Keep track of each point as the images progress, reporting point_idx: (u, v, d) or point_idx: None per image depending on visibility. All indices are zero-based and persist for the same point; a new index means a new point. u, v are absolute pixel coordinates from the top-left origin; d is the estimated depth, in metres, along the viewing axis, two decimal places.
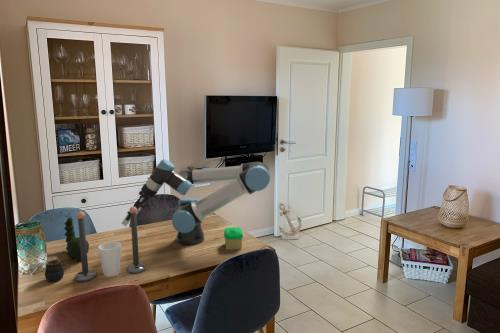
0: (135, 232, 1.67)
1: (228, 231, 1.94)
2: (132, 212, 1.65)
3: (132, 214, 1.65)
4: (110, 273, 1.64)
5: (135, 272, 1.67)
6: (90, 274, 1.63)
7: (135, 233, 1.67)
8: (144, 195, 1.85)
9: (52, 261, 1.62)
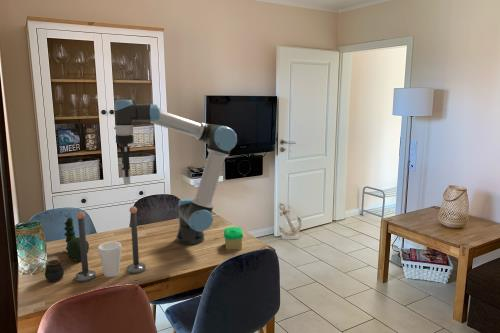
0: (135, 232, 1.67)
1: (228, 231, 1.94)
2: (132, 212, 1.65)
3: (132, 214, 1.65)
4: (110, 273, 1.64)
5: (135, 272, 1.67)
6: (90, 274, 1.63)
7: (135, 233, 1.67)
8: (124, 144, 1.67)
9: (52, 261, 1.62)
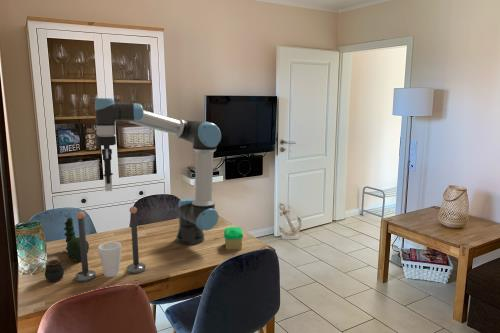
0: (135, 232, 1.67)
1: (228, 231, 1.94)
2: (132, 212, 1.65)
3: (132, 214, 1.65)
4: (110, 273, 1.64)
5: (135, 272, 1.67)
6: (90, 274, 1.63)
7: (135, 233, 1.67)
8: (106, 146, 1.56)
9: (52, 261, 1.62)
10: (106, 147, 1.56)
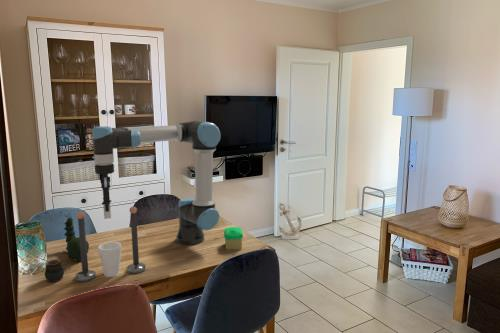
0: (135, 232, 1.67)
1: (228, 231, 1.94)
2: (132, 212, 1.65)
3: (132, 214, 1.65)
4: (110, 273, 1.64)
5: (135, 272, 1.67)
6: (90, 274, 1.63)
7: (135, 233, 1.67)
8: (104, 175, 1.56)
9: (52, 261, 1.62)
10: (104, 176, 1.56)
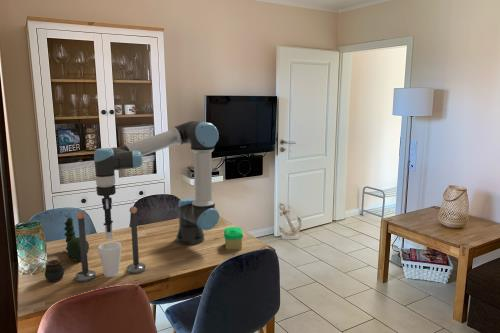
0: (135, 232, 1.67)
1: (228, 231, 1.94)
2: (132, 212, 1.65)
3: (132, 214, 1.65)
4: (110, 273, 1.64)
5: (135, 272, 1.67)
6: (90, 274, 1.63)
7: (135, 233, 1.67)
8: (106, 196, 1.57)
9: (52, 261, 1.62)
10: (106, 197, 1.57)
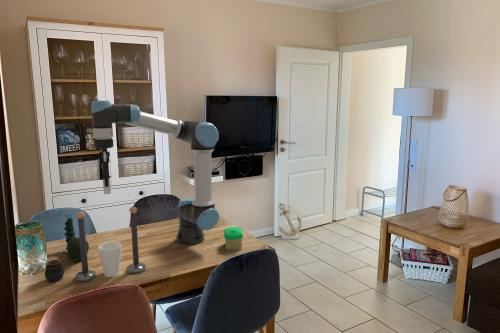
0: (135, 232, 1.67)
1: (228, 231, 1.94)
2: (132, 212, 1.65)
3: (132, 214, 1.65)
4: (110, 273, 1.64)
5: (135, 272, 1.67)
6: (90, 274, 1.63)
7: (135, 233, 1.67)
8: (103, 149, 1.54)
9: (52, 261, 1.62)
10: (104, 150, 1.54)
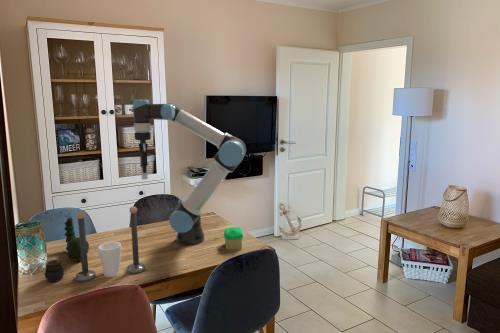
0: (135, 232, 1.67)
1: (228, 231, 1.94)
2: (132, 212, 1.65)
3: (132, 214, 1.65)
4: (110, 273, 1.64)
5: (135, 272, 1.67)
6: (90, 274, 1.63)
7: (135, 233, 1.67)
8: (143, 141, 1.82)
9: (52, 261, 1.62)
10: (143, 141, 1.82)
